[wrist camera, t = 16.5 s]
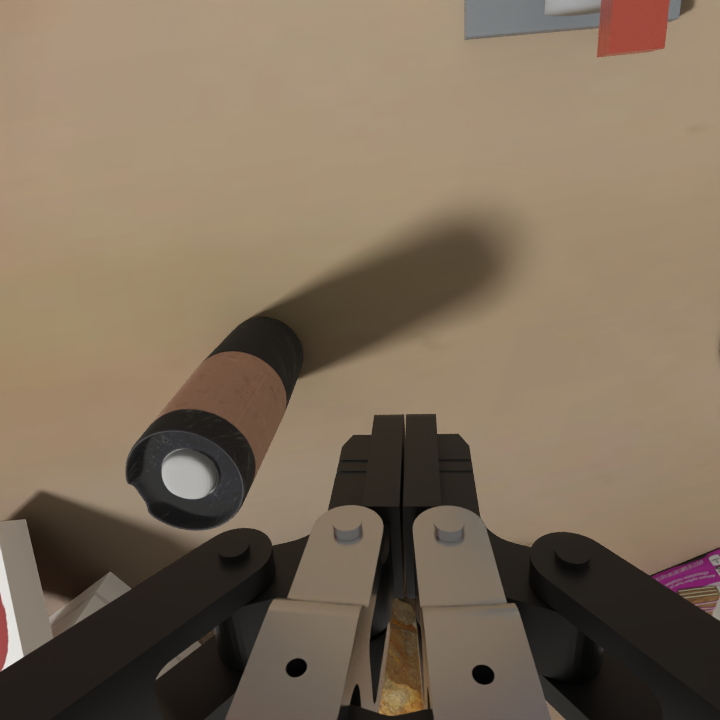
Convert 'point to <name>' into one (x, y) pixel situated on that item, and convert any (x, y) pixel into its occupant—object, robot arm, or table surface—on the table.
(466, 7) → the valve stand
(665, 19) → the lever
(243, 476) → the travel mug
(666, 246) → the table surface
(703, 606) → the candy bar box
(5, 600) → the pizza boxes
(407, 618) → the rough brown rock
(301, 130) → the table surface
